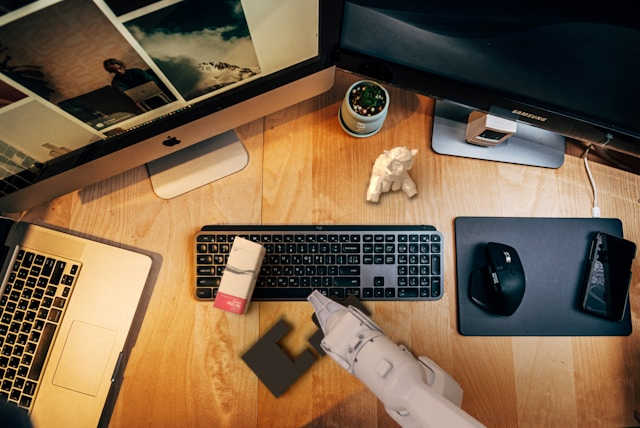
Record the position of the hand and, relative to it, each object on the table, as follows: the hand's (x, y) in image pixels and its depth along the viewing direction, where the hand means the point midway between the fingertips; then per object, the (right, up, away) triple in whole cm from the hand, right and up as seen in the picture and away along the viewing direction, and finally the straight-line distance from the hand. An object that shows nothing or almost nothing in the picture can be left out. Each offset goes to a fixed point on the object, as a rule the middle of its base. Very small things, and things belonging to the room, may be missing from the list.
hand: (339, 324), depth 76 cm
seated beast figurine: (+9, +26, +6) cm, 28 cm away
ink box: (-18, +3, -3) cm, 19 cm away
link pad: (0, 0, +1) cm, 1 cm away
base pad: (-10, -6, 0) cm, 12 cm away
